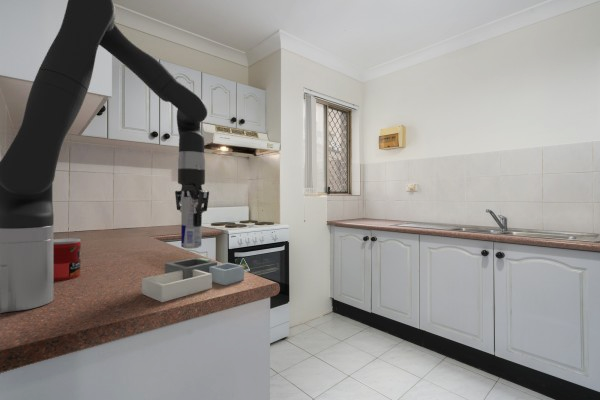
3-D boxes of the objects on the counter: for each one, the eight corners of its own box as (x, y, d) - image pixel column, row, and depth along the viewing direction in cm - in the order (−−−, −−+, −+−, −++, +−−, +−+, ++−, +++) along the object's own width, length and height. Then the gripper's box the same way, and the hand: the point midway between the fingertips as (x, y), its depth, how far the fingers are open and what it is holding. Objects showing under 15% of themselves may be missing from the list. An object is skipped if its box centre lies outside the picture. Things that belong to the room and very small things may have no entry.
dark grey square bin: (185, 285, 81) (185, 267, 81) (164, 278, 88) (164, 262, 88) (217, 277, 90) (217, 261, 90) (196, 271, 96) (196, 256, 96)
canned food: (76, 279, 86) (76, 241, 86) (41, 282, 83) (41, 242, 83) (84, 273, 93) (84, 237, 93) (52, 275, 90) (52, 238, 90)
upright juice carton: (204, 246, 91) (204, 196, 91) (196, 249, 86) (196, 196, 85) (186, 245, 92) (187, 196, 92) (177, 248, 86) (177, 196, 86)
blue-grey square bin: (224, 285, 82) (224, 270, 82) (209, 280, 86) (209, 266, 86) (244, 279, 87) (244, 266, 87) (228, 275, 92) (228, 262, 92)
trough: (162, 302, 68) (162, 285, 68) (141, 293, 74) (142, 278, 74) (211, 288, 79) (212, 273, 79) (190, 281, 85) (190, 268, 85)
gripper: (166, 168, 90) (166, 225, 90) (194, 166, 81) (194, 228, 81) (189, 170, 96) (188, 223, 96) (217, 168, 87) (217, 226, 87)
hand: (191, 225), depth 89 cm, fingers closed on upright juice carton, 5 cm apart
